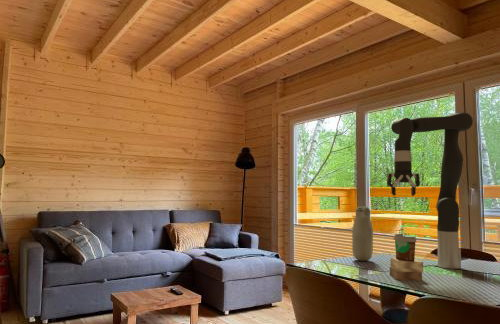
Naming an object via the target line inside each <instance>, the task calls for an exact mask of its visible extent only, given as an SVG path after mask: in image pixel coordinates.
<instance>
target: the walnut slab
mask: <svg viewBox="0 0 500 324" xmlns="http://www.w3.org/2000/svg"><path fill="white" fill-rule="evenodd" d="M389 275H390V277H392V278H394V280H396V281H412V280H419V282H420V281H421V282H422V281H423V272H401V271H397V270H395V269H393V268H392V267H391V266H389Z"/></svg>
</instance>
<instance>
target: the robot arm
mask: <svg viewBox="0 0 500 324" xmlns="http://www.w3.org/2000/svg"><path fill="white" fill-rule="evenodd" d="M473 121H474V120H473V117H472V115H471V114H469V113H468V112H464V111H462V112H461V111H460V112H454V113H450V114H448V115H447V116H446V115H445V116H425V117H415V118H409V117H403V118H399V119H396V120H394V121H393V122H392V123H391V127H390V128H391V129H390V130H392V133H394V134H395V135H398V138H397V139H396V140H394V155H393V156H394V157H393V159H394V160H393V161H394V166H393V167H394V173H391V172H389V173H387V179H386V186H387V187H390V188H391V189H390V190H391V195H392V196H394V197H395V196H396V194H397V192H396V186H397V185H398V184H399V183H400V184H401V183H404V184H405V183H408V184H409V185H410V186H411V187H410V191H411V192H410V194H411V196H412V197H413V196H415V195H416V194H417V193H416V188H417V187H420V186H421V183H420V182H421V181H420V174H419V173H418V172H416V173H413V171H412V167H413V166H412V158H413V157H412V151H411V142H412V137H413V134H414V133H427V132H435V131H442V130H443V131H444V139H443V141H444V142H443V152H442V153H443V154H442V159H441V160H442V161H441V166H440V167H441V169H440V186H439V193H438V197H437V202H436V205H435V206H436V207H435V209H436V211H437V224H436V229H437V231H436V233H437V234H436V235H437V236H436V237H437V241H436V242H437V267H439V268H441V269H442V268H444V269H450V270H452V269H454V270H455V269H456V270H457V269H462V254H461V253H462V248H461V247H460V239H459V236H460V235H459V227H460V206H459V203H458V201H457V189H458V186H459V182H460V179H461V177H462V176H461V175H462V171H463V166H464V156H463V152H462V151H461V148H460V145H459V134H460V132H465V131H468V130H469V129H470V128H471V127H472V126H473V124H474V122H473ZM393 177H394V180H393V183H392V178H393ZM412 178H414V181H413V180H412Z"/></svg>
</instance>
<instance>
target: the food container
mask: <svg viewBox="0 0 500 324" xmlns="http://www.w3.org/2000/svg"><path fill="white" fill-rule="evenodd" d="M416 238H417V237H416V236H408V235H407V236H406V235H405V236H404V234H403V233H395V234H394V236H393V241H394V243H395V244H394V246H395V258H396V259H398V260H402V261H411V262H414V258H415V257H416V256H415V254H416V243H417V239H416ZM415 259H416V258H415Z"/></svg>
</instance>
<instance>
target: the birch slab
mask: <svg viewBox="0 0 500 324" xmlns="http://www.w3.org/2000/svg"><path fill="white" fill-rule="evenodd" d="M390 267H392V268H393V269H395V270H397V271H401V272H422V273H424V261H422V260H420V259H417V258H414V262H411V261H402V260H398V259H396V256H395V257H394V256H393V257H390Z"/></svg>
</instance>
